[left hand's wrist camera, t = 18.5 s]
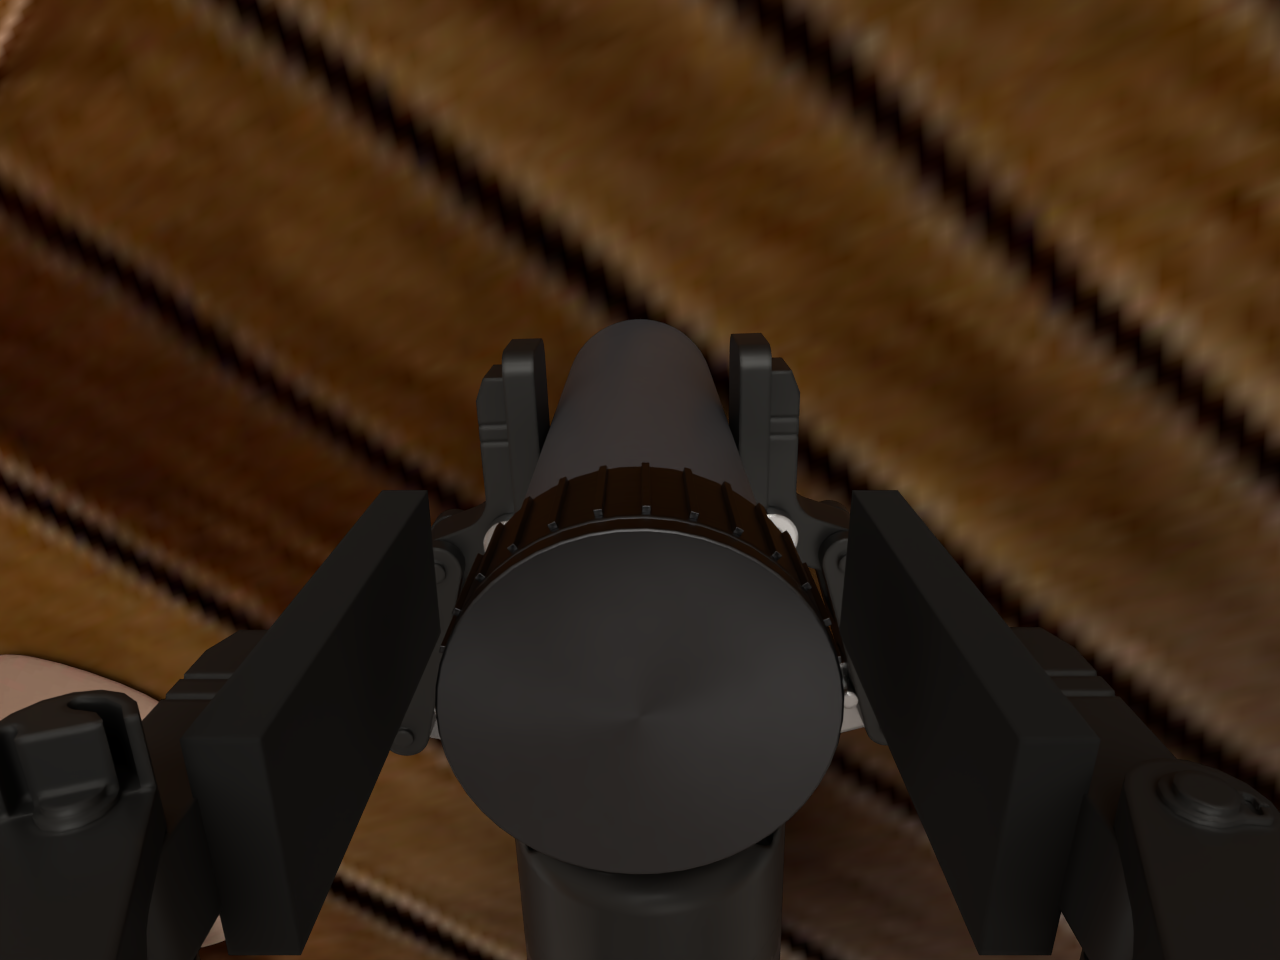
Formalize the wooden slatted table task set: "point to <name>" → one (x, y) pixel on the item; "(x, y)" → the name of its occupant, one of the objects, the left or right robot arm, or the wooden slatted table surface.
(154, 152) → the wooden slatted table surface
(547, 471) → the dark grey cylinder
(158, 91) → the wooden slatted table surface
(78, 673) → the anatomical model
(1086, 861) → the left robot arm
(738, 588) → the lid
